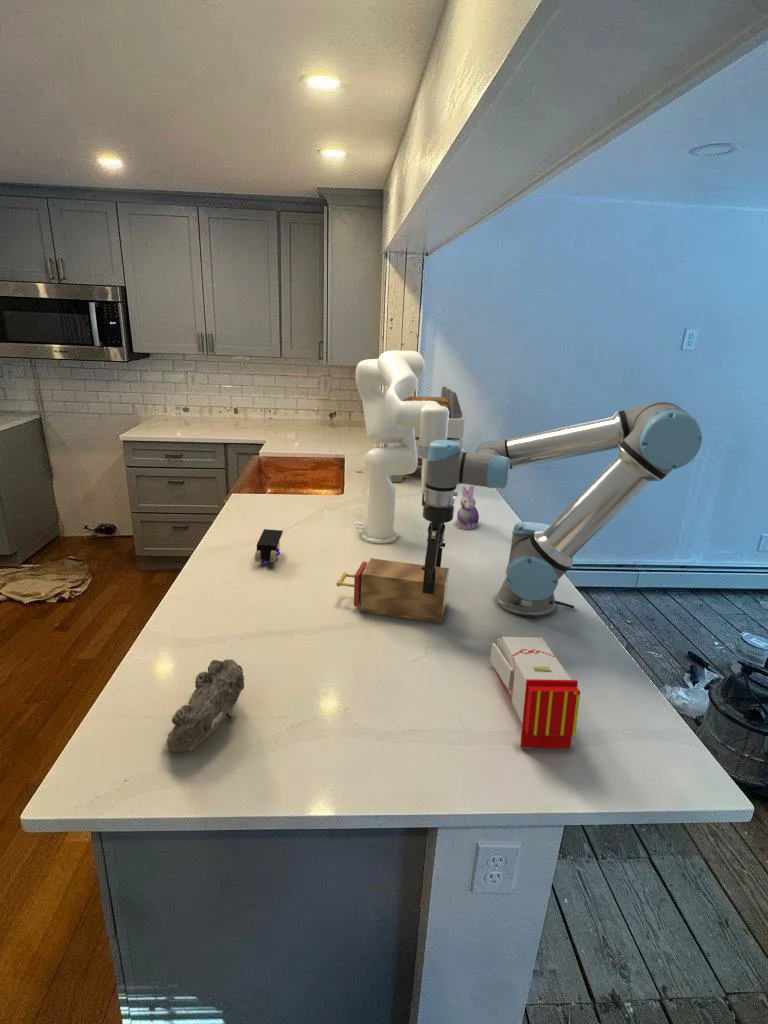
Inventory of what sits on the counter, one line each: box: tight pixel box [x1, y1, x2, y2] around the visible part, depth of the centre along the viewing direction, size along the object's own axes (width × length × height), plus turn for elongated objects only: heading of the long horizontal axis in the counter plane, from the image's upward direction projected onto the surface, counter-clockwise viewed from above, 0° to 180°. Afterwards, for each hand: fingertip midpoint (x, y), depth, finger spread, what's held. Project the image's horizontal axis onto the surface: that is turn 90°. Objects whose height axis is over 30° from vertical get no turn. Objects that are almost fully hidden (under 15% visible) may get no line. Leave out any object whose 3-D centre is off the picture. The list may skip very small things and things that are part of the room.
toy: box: [489, 636, 581, 749], centre depth 115 cm, size 12×13×30 cm
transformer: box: [383, 386, 465, 483], centre depth 268 cm, size 34×33×41 cm
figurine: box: [455, 485, 480, 530], centre depth 208 cm, size 9×10×15 cm
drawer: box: [335, 561, 368, 608], centre depth 150 cm, size 25×9×9 cm, turn 78°
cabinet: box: [360, 557, 450, 624], centre depth 149 cm, size 21×10×11 cm, turn 78°
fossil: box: [166, 658, 245, 754], centre depth 106 cm, size 22×10×15 cm
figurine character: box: [254, 528, 284, 568], centre depth 174 cm, size 7×8×15 cm
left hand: (428, 511), depth 159 cm, fingers open, 9 cm apart
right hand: (431, 581), depth 146 cm, fingers open, 13 cm apart
